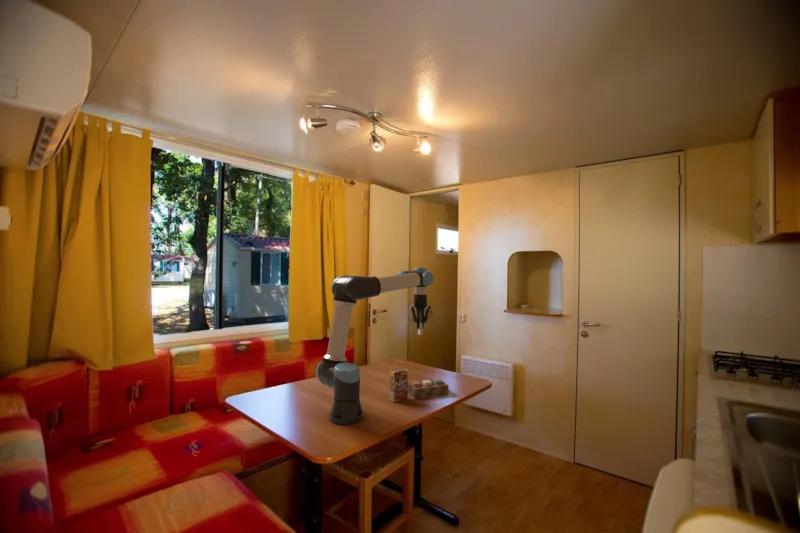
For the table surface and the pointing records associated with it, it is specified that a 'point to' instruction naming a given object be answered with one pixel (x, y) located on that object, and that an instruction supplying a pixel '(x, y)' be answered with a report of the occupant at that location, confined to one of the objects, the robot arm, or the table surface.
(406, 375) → the candy box
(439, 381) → the slate key
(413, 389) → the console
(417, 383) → the brick key
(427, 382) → the ivory key
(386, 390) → the table surface
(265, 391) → the table surface
